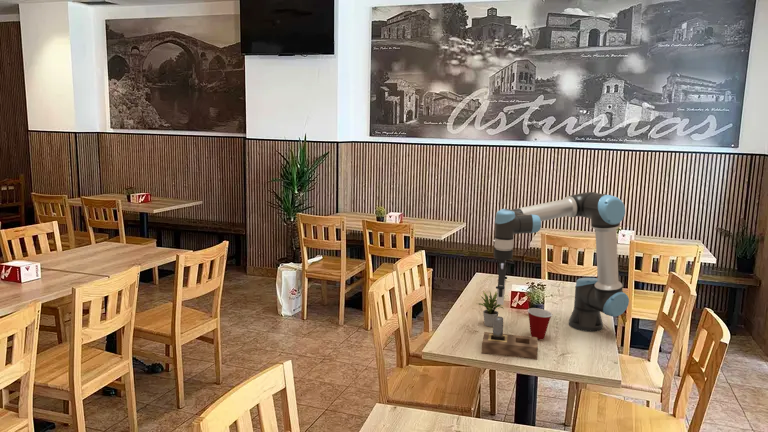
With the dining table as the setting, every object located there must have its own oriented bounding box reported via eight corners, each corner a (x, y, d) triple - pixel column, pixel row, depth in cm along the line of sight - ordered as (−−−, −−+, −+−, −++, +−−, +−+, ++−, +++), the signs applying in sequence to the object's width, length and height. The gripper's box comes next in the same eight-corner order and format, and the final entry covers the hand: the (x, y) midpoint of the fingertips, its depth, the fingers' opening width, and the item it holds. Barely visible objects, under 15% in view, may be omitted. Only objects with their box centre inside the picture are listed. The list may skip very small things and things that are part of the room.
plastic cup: (551, 343, 260) (553, 316, 258) (526, 340, 262) (527, 314, 260) (550, 334, 270) (552, 308, 268) (525, 332, 272) (527, 306, 270)
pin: (502, 346, 252) (503, 316, 250) (502, 350, 248) (503, 319, 246) (492, 345, 253) (493, 316, 251) (492, 349, 249) (493, 319, 247)
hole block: (536, 348, 253) (537, 336, 252) (537, 359, 241) (537, 347, 240) (483, 342, 257) (484, 331, 257) (481, 353, 246) (482, 341, 245)
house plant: (506, 332, 271) (508, 297, 268) (475, 329, 273) (477, 294, 271) (506, 322, 285) (508, 289, 282) (476, 319, 287) (478, 286, 285)
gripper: (495, 242, 256) (493, 290, 260) (492, 254, 232) (489, 307, 236) (513, 243, 255) (510, 291, 258) (512, 256, 231) (509, 309, 234)
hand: (500, 299), depth 247 cm, fingers open, 13 cm apart
